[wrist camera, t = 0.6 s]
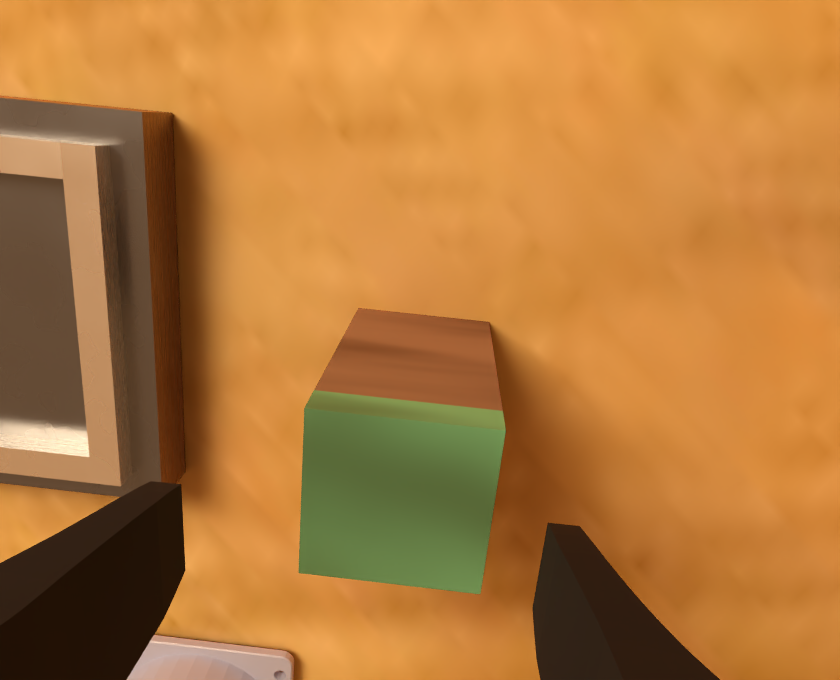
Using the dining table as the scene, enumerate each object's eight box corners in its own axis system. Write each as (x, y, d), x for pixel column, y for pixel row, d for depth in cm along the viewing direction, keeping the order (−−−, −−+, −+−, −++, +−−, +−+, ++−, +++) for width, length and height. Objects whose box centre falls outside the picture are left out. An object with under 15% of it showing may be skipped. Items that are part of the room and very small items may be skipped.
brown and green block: (473, 438, 23) (480, 593, 15) (351, 424, 23) (298, 572, 15) (488, 321, 21) (505, 430, 14) (358, 307, 21) (304, 408, 14)
